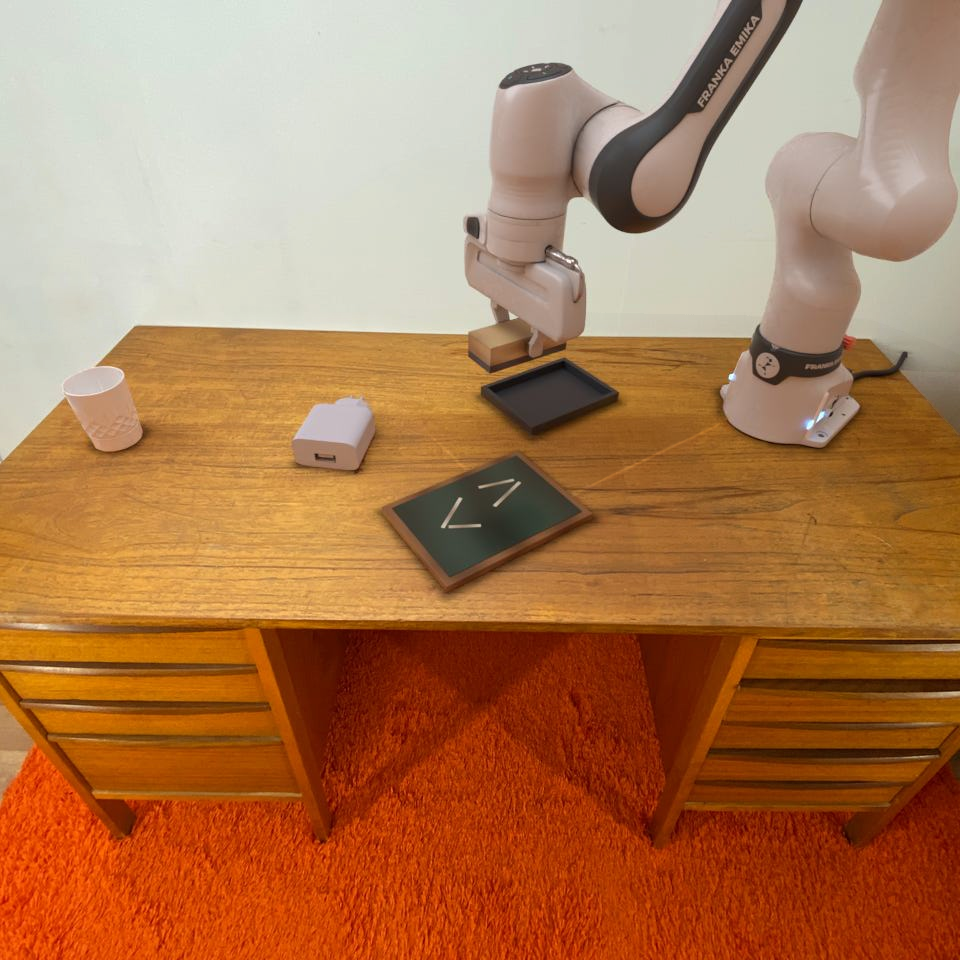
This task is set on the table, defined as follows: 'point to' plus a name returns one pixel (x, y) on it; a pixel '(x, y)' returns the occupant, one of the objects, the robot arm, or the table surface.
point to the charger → (335, 435)
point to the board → (484, 518)
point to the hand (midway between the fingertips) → (517, 343)
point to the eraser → (505, 345)
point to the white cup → (104, 407)
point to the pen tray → (548, 395)
